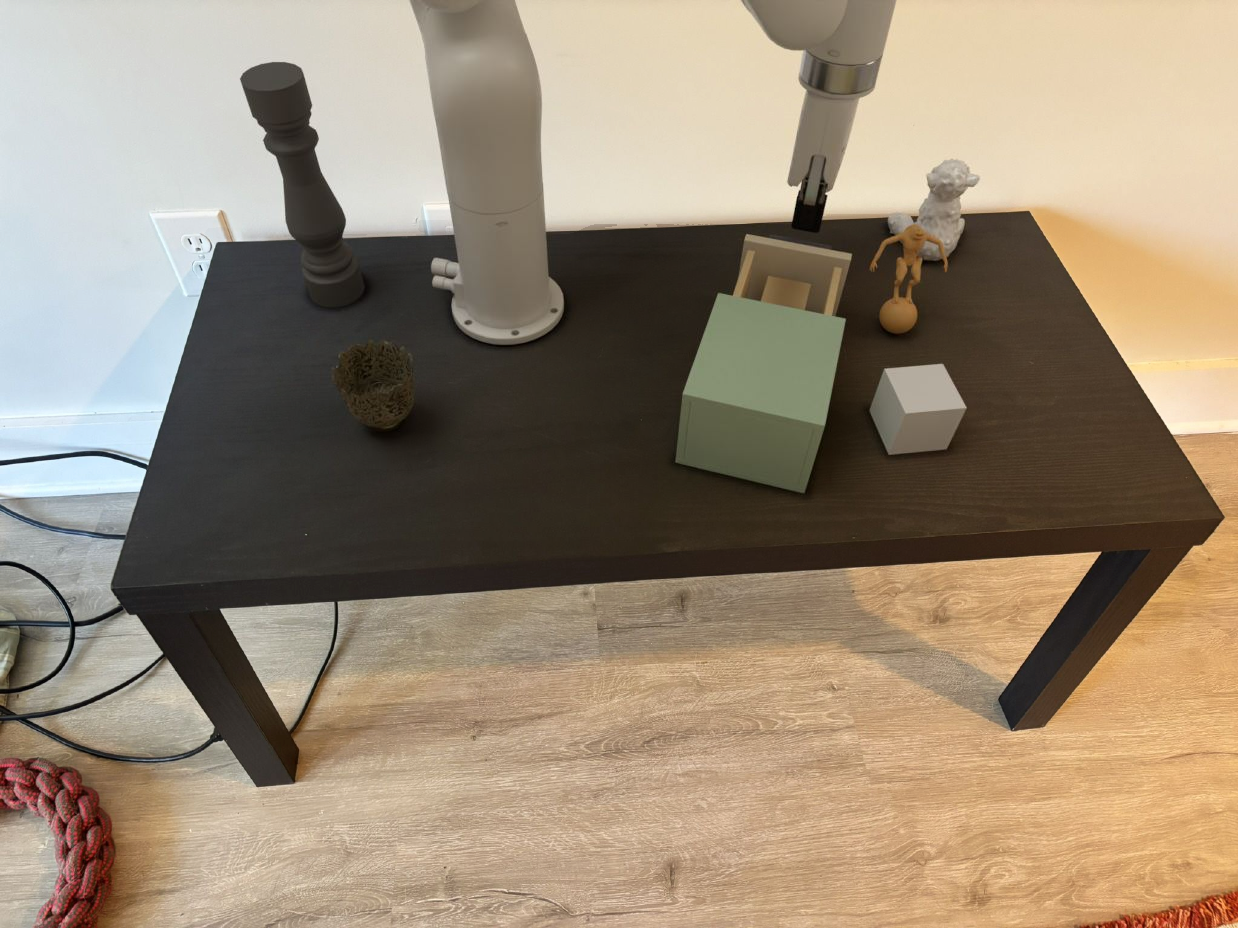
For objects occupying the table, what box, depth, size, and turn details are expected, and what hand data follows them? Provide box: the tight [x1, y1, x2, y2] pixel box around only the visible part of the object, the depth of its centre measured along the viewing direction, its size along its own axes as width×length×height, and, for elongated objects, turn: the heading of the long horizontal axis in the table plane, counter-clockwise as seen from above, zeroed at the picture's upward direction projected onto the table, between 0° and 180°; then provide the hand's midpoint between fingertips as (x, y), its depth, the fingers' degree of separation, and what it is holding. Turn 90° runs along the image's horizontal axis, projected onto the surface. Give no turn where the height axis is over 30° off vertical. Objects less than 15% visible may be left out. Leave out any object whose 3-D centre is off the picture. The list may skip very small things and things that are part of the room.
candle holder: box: [239, 61, 366, 308], centre depth 88 cm, size 6×6×25 cm
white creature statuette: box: [887, 158, 981, 262], centre depth 100 cm, size 10×9×12 cm
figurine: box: [869, 225, 949, 335], centre depth 91 cm, size 8×6×12 cm
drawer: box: [732, 233, 853, 317], centre depth 91 cm, size 18×11×8 cm, turn 163°
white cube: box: [869, 363, 967, 456], centre depth 83 cm, size 6×6×6 cm
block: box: [761, 276, 811, 310], centre depth 90 cm, size 5×5×5 cm
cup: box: [330, 339, 416, 435], centre depth 82 cm, size 8×7×8 cm
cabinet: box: [675, 292, 847, 494], centre depth 82 cm, size 15×13×10 cm
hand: (805, 226), depth 96 cm, fingers closed
